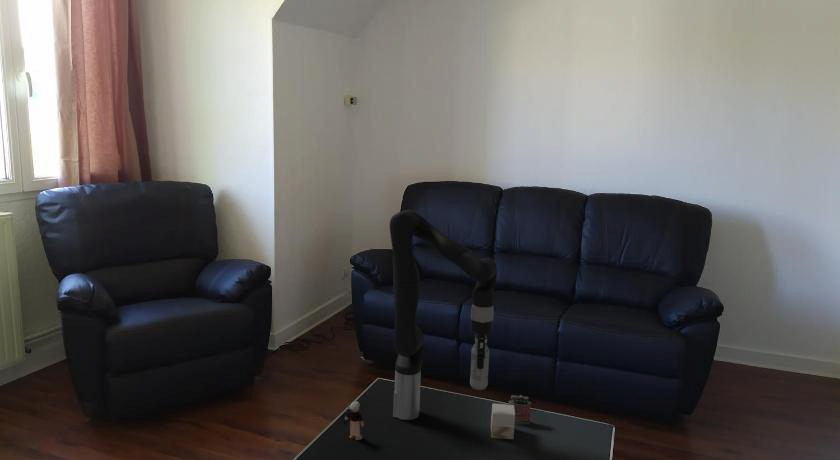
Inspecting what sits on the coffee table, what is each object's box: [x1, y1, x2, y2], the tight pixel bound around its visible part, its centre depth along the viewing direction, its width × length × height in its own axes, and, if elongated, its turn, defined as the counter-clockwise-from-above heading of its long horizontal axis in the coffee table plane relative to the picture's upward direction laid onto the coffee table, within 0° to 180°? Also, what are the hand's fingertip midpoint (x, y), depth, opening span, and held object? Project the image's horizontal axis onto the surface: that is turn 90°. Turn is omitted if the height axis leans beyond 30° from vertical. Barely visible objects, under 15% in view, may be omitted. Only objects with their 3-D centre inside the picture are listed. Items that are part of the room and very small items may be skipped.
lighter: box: [507, 394, 532, 425], centre depth 217 cm, size 8×3×10 cm, turn 84°
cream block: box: [491, 403, 515, 429], centre depth 209 cm, size 8×8×4 cm
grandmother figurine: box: [344, 401, 365, 441], centre depth 203 cm, size 8×4×13 cm, turn 71°
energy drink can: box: [469, 342, 490, 391], centre depth 206 cm, size 6×6×15 cm
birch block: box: [490, 414, 515, 440], centre depth 210 cm, size 8×8×4 cm
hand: (479, 364), depth 206 cm, fingers closed on energy drink can, 6 cm apart
